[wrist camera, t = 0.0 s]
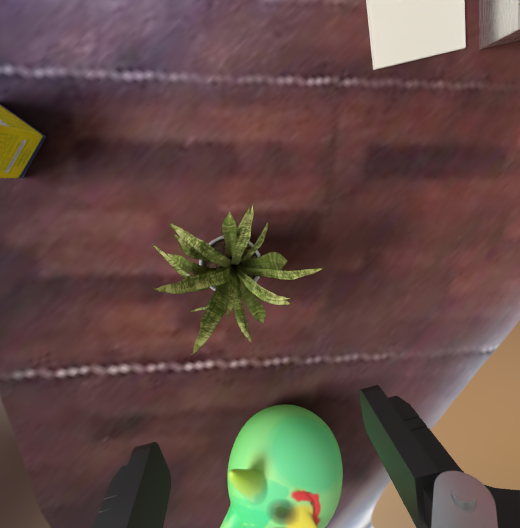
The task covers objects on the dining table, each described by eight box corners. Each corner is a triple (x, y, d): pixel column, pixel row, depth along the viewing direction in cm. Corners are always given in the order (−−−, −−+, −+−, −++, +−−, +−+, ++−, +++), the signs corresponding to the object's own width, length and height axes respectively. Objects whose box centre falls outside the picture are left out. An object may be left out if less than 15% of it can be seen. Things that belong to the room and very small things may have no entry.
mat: (361, -45, 32) (362, -48, 31) (459, -68, 32) (462, -71, 32) (373, 70, 35) (374, 69, 35) (463, 48, 35) (465, 47, 35)
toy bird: (314, 474, 52) (345, 584, 37) (216, 472, 50) (209, 588, 35) (334, 385, 47) (378, 474, 33) (227, 380, 45) (224, 472, 31)
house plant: (271, 174, 37) (299, 171, 22) (304, 272, 41) (349, 330, 25) (165, 215, 37) (116, 242, 22) (208, 309, 41) (194, 388, 26)
